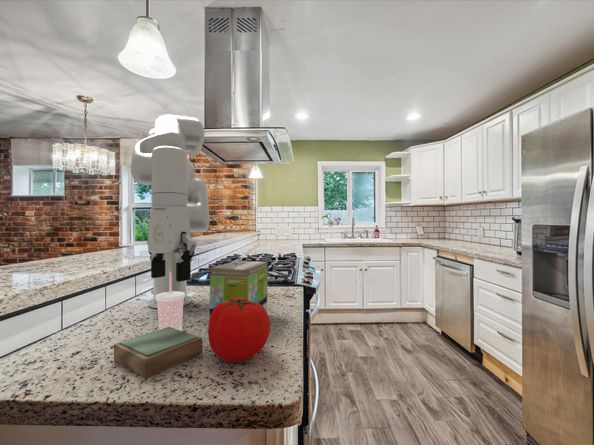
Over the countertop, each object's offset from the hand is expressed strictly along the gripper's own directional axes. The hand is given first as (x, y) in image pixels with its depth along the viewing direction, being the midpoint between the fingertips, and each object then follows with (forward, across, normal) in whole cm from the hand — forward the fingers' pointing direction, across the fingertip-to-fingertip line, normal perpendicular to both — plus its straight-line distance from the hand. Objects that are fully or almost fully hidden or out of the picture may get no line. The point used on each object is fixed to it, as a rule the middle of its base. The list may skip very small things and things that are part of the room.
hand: (170, 278), depth 67 cm
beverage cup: (+13, -1, 0) cm, 13 cm away
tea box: (+13, +6, +16) cm, 21 cm away
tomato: (+13, +21, +1) cm, 25 cm away
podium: (+13, +8, -8) cm, 17 cm away
